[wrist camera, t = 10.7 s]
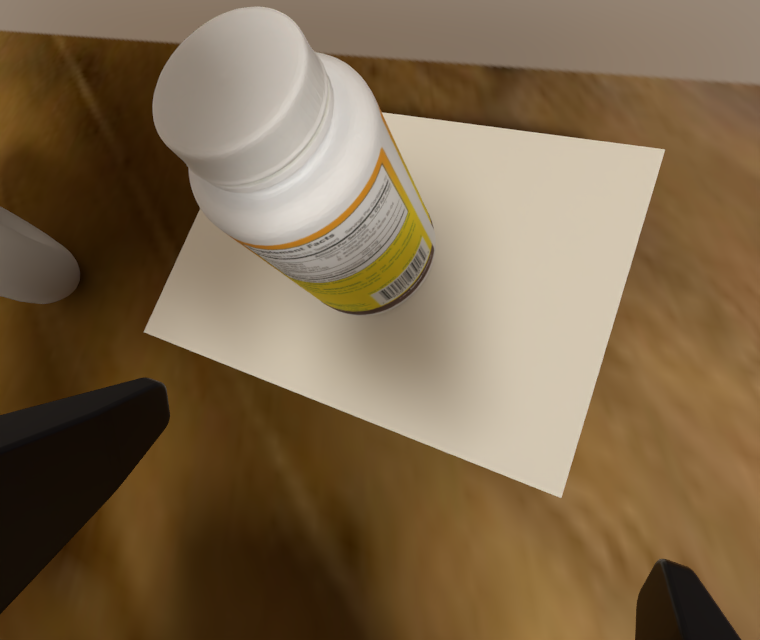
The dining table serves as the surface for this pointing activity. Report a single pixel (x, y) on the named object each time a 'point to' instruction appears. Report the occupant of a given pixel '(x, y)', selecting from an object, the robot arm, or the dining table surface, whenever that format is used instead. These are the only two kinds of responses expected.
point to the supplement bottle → (295, 160)
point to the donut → (33, 263)
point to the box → (449, 299)
